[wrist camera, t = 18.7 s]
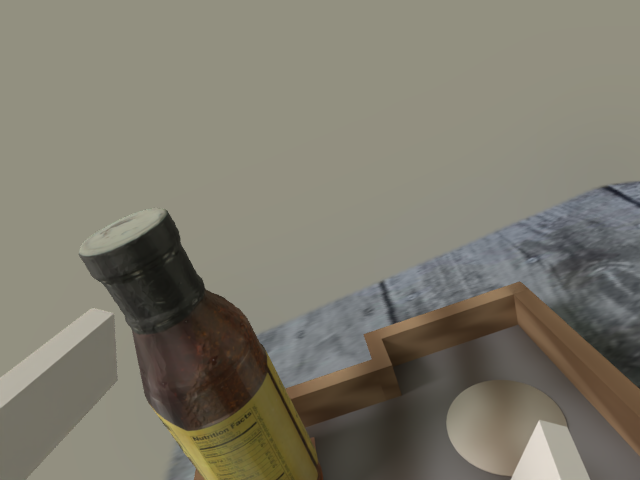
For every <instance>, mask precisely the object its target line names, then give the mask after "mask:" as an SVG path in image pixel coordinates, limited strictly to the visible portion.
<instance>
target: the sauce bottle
mask: <svg viewBox="0 0 640 480" xmlns="http://www.w3.org/2000/svg"><path fill="white" fill-rule="evenodd" d="M79 256H80V258H81V259H82V260H83V262H84V263H85V265H86V267H87V269H88V270H89V272H90V274H91V275H92V277H93V278H95V279H96V280H98V281H99V282H101V283H102V284H103V285H104V286H105V287H106V288H107V290H108V291H109V293H110V294H111V296H112V297H113V299H114V301H115V302H116V303H117V304H118V306H119V308H120V310H121V311H122V312H123V314H124V315H125V319H126V322H127V324H128V325H129V326H130V327H131V329H132V332H133V337H134V343H135V348H136V353H137V358H138V363H139V368H140V373H141V378H142V383H143V388H144V393H145V396H146V398H147V401H148V403H149V404H150V405H151V407H152V408H153V410H154V411H155V412H156V414H157V415H158V417H159V418H160V419H161V421H162V422H163V424H164V425H165V426H166V427H167V429H168V430H169V432H170V433H171V434H172V436H173V438H174V439H175V440H176V441H177V443H178V444H179V446H180V448H181V449H182V450H183V452H184V453H185V454H186V456H187V457H188V458H189V460H190V461H191V462H192V463H193V465H194V466H195V467H196V469H197V470H198V472H199V474H200V475H201V476H202V478H203V479H204V480H323V474H322V469H321V466H320V463H319V461H318V458H317V453H316V450H315V448H314V445H313V443H312V441H311V439H310V437H309V435H308V433H307V431H306V429H305V427H304V425H303V423H302V421H301V419H300V417H299V415H298V413H297V411H296V409H295V407H294V405H293V403H292V401H291V400H290V398H289V396H288V394H287V392H286V390H285V388H284V386H283V384H282V382H281V380H280V378H279V376H278V374H277V372H276V370H275V368H274V366H273V364H272V362H271V360H270V358H269V356H268V354H267V352H266V350H265V348H264V347H263V345H262V344H260V343H259V340H258V339H257V336H256V334H255V333H254V331H253V328H252V326H251V325H250V323H249V321H248V319H247V318H246V316H245V315H244V314H243V313H242V312H241V310H240V309H239V308H237V307H235V306H234V305H233V304H232V303H230V302H229V301H227V300H226V299H225V298H223V297H222V296H219V295H217V294H214V293H211V292H210V291H208V290H206V289H205V287H204V283H203V280H202V278H200V277H199V275H197V273H196V271H195V270H194V268H193V266H192V264H191V262H190V260H189V258H188V256H187V254H186V252H185V250H184V249H183V247H182V245H181V242H180V236H179V231H178V229H177V228H176V225H175V223H174V221H173V220H172V218H171V216H170V215H169V213H168V211H167V210H165V209H161V208H151V209H147V210H143V211H140V212H136V213H134V214H132V215H130V216H126V217H123V218H121V219H120V220H118V221H116V222H114V223H112V224H110V225H108V226H107V227H105V228H104V229H102V230H100V231H98V232H96V233H95V234H93V235H92V236H90V237H89V238H88V239H87V240H86V241H85V242H84V243H83V244H82V245H81V247H80V253H79Z"/></svg>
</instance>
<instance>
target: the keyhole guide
mask: <svg viewBox="0 0 640 480" xmlns="http://www.w3.org/2000/svg"><path fill="white" fill-rule="evenodd" d="M364 337H365V340H366V343H367V346H368V349H369V352H370V355H371V358H372V360H369V361H366V362H363V363H360V364H357V365H354V366H351V367H348V368H345V369H342V370H339V371H336V372H334V373H331V374H328V375H325V376H322V377H319V378H316V379H313V380H310V381H307V382H304V383H301V384H298V385H295V386H292V387H289V388H286V389H285V390H286V392H287V394H288V396H289V398H290V400H291V401H292V403H293V405H294V407H295V409H296V411H297V413H298V415H299V417H300V419H301V421H302V423H303V425H304V427H305V429H306V431H307V433H308V435H309V437H310V439H311V441H312V443H313V445H314V448H315V450H316V453H317V458H318V461H319V463H320V466H321V469H322V474H323V480H511V478H512V476H513V474H514V471H515V469H516V467H517V465H518V463H519V461H520V459H521V457H522V455H523V452H524V450H525V448H526V446H527V444H528V442H529V440H530V438H531V436H532V434H533V431H534V429H535V427H536V425H537V423H538V421H539V420H542V421H546V422H550V423H554V424H557V425H561V426H565V427H567V428H568V430H569V432H570V435H571V437H572V439H573V441H574V444H575V446H576V448H577V451H578V453H579V455H580V457H581V460H582V462H583V464H584V466H585V469H586V471H587V473H588V476H589V478H590V480H640V389H639V388H638V387H637V386H636V385H634V384H633V383H632V382H631V381H630V380H629V379H628V378H627V377H626V376H624V375H623V374H622V373H621V372H620V371H619V370H618V369H617V368H616V367H615V366H613V365H612V364H611V363H610V362H609V361H608V360H607V359H606V358H605V357H603V356H602V355H601V354H600V353H599V352H598V351H597V350H596V349H595V348H593V347H592V346H591V345H590V344H589V343H588V342H587V341H586V340H585V339H583V338H582V337H581V336H580V335H579V334H578V333H577V332H576V331H575V330H574V329H572V328H571V327H570V326H569V325H568V324H567V323H566V322H565V321H564V320H562V319H561V318H560V317H559V316H558V315H557V314H556V313H555V312H554V311H552V310H551V309H550V308H549V307H548V306H547V305H546V304H545V303H544V302H542V301H541V300H540V299H539V298H538V297H537V296H536V295H535V294H534V293H533V292H531V291H530V290H529V289H528V288H527V287H526V286H525V285H524V284H523V283H521V282H517V283H514V284H511V285H508V286H505V287H502V288H499V289H496V290H493V291H490V292H487V293H484V294H481V295H478V296H476V297H473V298H470V299H467V300H464V301H461V302H458V303H455V304H452V305H449V306H446V307H443V308H440V309H437V310H434V311H431V312H428V313H425V314H422V315H419V316H416V317H414V318H411V319H408V320H405V321H402V322H399V323H396V324H393V325H390V326H387V327H384V328H381V329H378V330H375V331H372V332H369V333H366V334H364ZM194 480H204V479H203V478H202V476H201V475H200V474H199V472H198V470H197V469H196V471H195V477H194Z"/></svg>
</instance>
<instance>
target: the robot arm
mask: <svg viewBox="0 0 640 480" xmlns="http://www.w3.org/2000/svg"><path fill="white" fill-rule="evenodd" d="M116 381H117V361H116V342H115V323H114V313H110V312H107V311H103V310H99V309H94V308H91V309H90V310H89V311H87V312H86V313H85V314H83V315H82V316H81V317H79V318H78V319H77V320H75V321H74V322H73V323H72V324H70V325H69V326H68V327H66V328H65V329H64V330H62V331H61V332H60V333H58V334H57V335H56V336H55V337H53V338H52V339H51V340H49V341H48V342H47V343H45V344H44V345H43V346H41V347H40V348H39V349H38V350H36V351H35V352H34V353H32V354H31V355H30V356H28V357H27V358H26V359H24V360H23V361H22V362H20V363H19V364H18V365H16V366H15V367H14V368H13V369H11V370H10V371H9V372H7V373H6V374H5V375H3V376H2V377H1V378H0V480H26V479H27V477H28V476H29V475H30V474H31V473H32V472H33V471H34V470H35V469H36V468H37V467H38V466H39V465H40V463H41V462H42V461H43V460H44V459H45V458H46V457H47V456H48V455H49V454H50V453H51V452H52V450H53V449H54V448H55V447H56V446H57V445H58V444H59V443H60V442H61V441H62V440H63V439H64V438H65V436H66V435H67V434H68V433H69V432H70V431H71V430H72V429H73V428H74V427H75V426H76V425H77V423H78V422H79V421H80V420H81V419H82V418H83V417H84V416H85V415H86V414H87V413H88V412H89V410H90V409H91V408H92V407H93V406H94V405H95V404H96V403H97V402H98V401H99V400H100V399H101V398H102V396H104V394H105V393H106V392H107V391H108V390H109V389H110V388H111V386H112V385H114V384H115V382H116ZM511 480H590V478H589V476H588V473H587V471H586V469H585V466H584V464H583V462H582V460H581V457H580V455H579V453H578V451H577V448H576V446H575V444H574V441H573V439H572V437H571V435H570V432H569V430H568V428H567V427H565V426H561V425H557V424H554V423H550V422H546V421H542V420H539V421H538V423H537V425H536V427H535V429H534V431H533V434H532V436H531V438H530V440H529V442H528V444H527V446H526V448H525V450H524V452H523V455H522V457H521V459H520V461H519V463H518V465H517V467H516V469H515V471H514V474H513V476H512V478H511Z"/></svg>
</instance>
